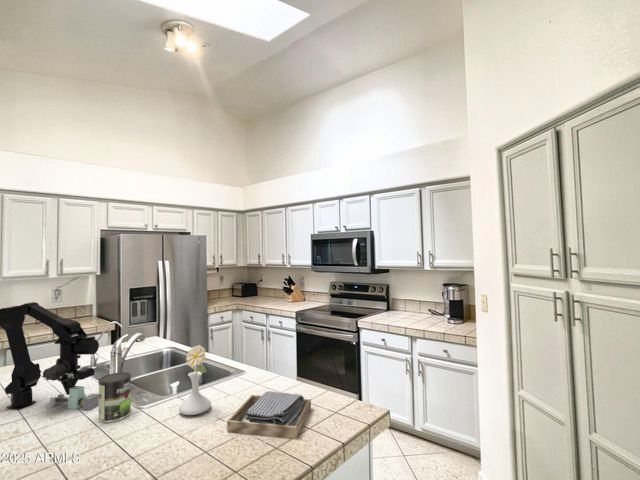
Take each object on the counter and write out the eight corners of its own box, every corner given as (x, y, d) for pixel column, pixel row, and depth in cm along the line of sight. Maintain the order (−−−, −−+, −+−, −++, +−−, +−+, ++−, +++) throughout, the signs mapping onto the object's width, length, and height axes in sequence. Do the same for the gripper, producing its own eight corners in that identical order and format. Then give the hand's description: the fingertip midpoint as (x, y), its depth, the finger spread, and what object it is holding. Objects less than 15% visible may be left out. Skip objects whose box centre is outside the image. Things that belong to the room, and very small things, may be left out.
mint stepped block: (67, 408, 130) (67, 389, 131) (77, 403, 134) (77, 385, 135) (76, 409, 130) (76, 390, 130) (85, 404, 134) (85, 385, 134)
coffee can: (137, 410, 128) (137, 372, 128) (115, 424, 118) (115, 383, 118) (114, 408, 130) (114, 371, 130) (90, 421, 120) (91, 381, 120)
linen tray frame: (227, 432, 111) (227, 421, 112) (252, 404, 132) (251, 394, 132) (296, 438, 107) (296, 427, 107) (311, 408, 127) (310, 399, 127)
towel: (305, 412, 125) (305, 390, 125) (284, 438, 108) (284, 413, 108) (268, 406, 130) (268, 386, 130) (243, 431, 112) (242, 407, 113)
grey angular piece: (46, 408, 131) (46, 396, 131) (63, 400, 138) (63, 389, 138) (86, 412, 127) (86, 400, 127) (101, 403, 134) (101, 392, 134)
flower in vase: (173, 411, 126) (173, 344, 127) (202, 401, 135) (201, 338, 136) (189, 423, 118) (189, 350, 118) (219, 411, 126) (218, 343, 127)
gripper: (28, 359, 127) (28, 401, 127) (69, 362, 124) (69, 405, 123) (56, 351, 138) (56, 389, 138) (95, 353, 135) (95, 392, 134)
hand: (68, 394), depth 133 cm, fingers closed
